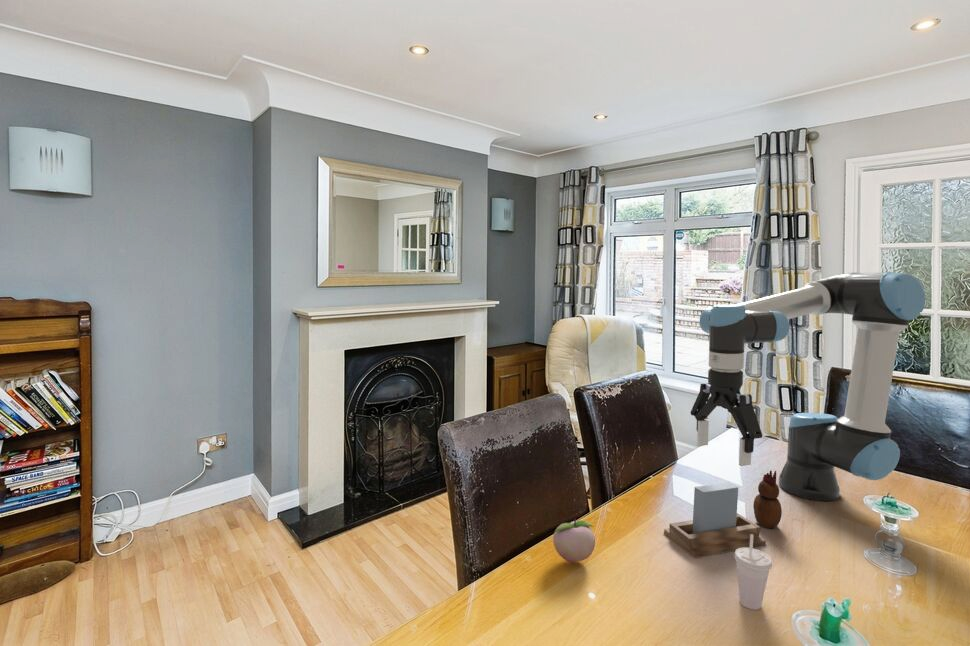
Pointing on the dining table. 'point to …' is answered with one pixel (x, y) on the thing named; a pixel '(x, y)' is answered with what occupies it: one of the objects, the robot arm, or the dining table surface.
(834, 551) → the dining table surface
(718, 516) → the gray rectangular block
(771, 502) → the wooden figurine
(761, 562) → the smoothie
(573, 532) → the decorative fruit
